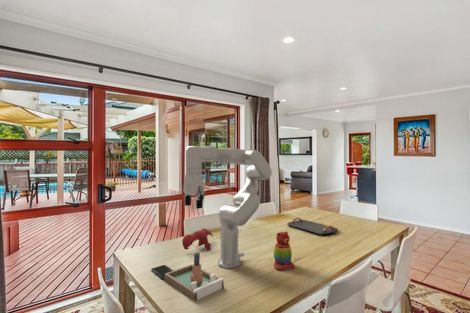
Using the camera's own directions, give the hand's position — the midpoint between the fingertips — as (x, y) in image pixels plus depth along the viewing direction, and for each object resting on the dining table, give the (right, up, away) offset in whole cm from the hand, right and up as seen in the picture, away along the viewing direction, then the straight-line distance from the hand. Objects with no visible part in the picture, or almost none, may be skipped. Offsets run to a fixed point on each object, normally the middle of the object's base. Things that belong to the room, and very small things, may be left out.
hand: (193, 206), depth 126 cm
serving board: (+81, -34, +81) cm, 119 cm away
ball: (+7, -31, -15) cm, 35 cm away
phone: (-15, -34, +2) cm, 37 cm away
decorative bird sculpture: (-1, -33, +37) cm, 50 cm away
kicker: (+3, -32, -10) cm, 34 cm away
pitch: (+1, -33, -8) cm, 34 cm away
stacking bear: (+45, -34, +11) cm, 57 cm away
